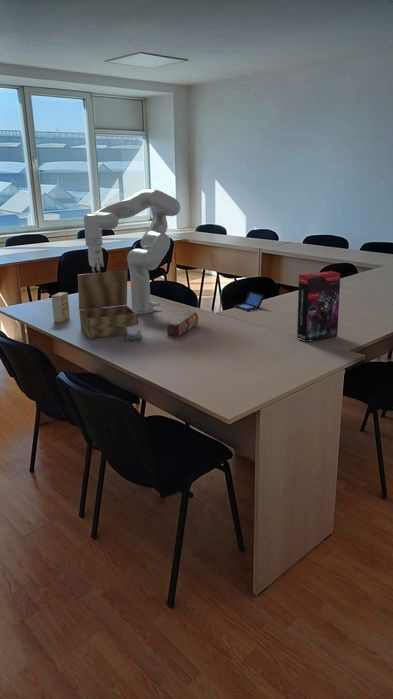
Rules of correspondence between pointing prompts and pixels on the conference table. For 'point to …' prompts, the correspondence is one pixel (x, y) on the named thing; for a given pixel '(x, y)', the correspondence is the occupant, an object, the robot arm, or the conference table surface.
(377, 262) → the conference table surface
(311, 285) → the graphics card box
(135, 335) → the steel weight
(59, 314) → the supplement box
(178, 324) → the snack package
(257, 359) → the conference table surface
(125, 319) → the tan wicker box
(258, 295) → the handheld game console
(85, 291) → the lid
